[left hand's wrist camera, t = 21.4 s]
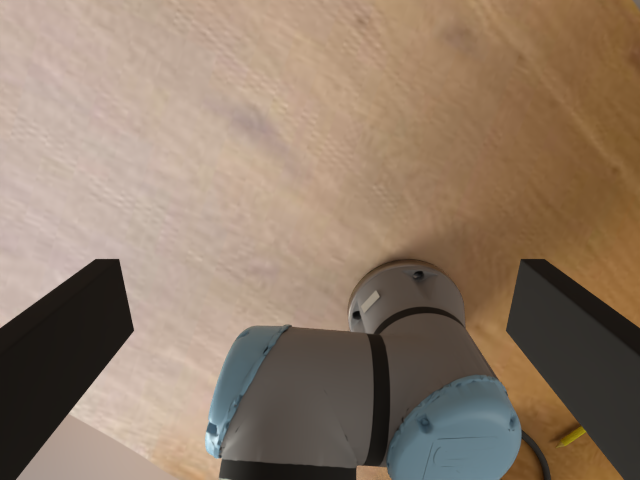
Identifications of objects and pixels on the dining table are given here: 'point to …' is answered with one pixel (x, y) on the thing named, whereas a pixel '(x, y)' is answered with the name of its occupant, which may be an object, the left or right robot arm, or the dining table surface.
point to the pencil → (571, 437)
